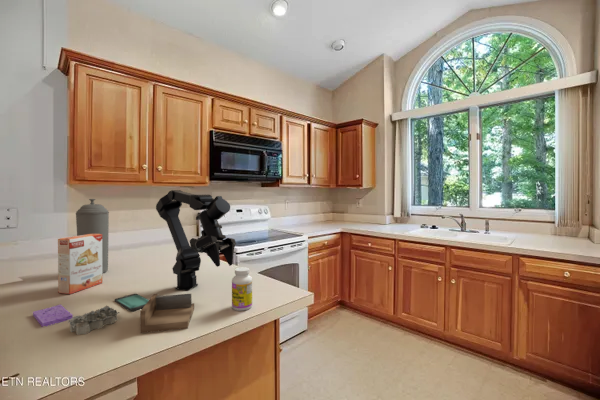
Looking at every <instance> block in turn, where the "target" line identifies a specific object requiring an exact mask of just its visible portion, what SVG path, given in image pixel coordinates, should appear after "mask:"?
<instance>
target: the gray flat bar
mask: <svg viewBox="0 0 600 400" xmlns="http://www.w3.org/2000/svg"><path fill="white" fill-rule="evenodd" d="M192 299H193V298H192V293H183V294H182V293H181V294H168V295H158V296H157V297H156V311H157V310H168V309H180V308H191V306H192V304H193V301H192Z"/></svg>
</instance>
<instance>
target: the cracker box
mask: <svg viewBox="0 0 600 400" xmlns="http://www.w3.org/2000/svg"><path fill="white" fill-rule="evenodd" d="M57 278H58V279H57V282H58V283H57V285H58V286H57V289H58V291H57V292H58V294H66V295H72V294H74V293H77V292H80V291H84V290H86V289H89V288H91V287H94V286H95V287H96V286H97V285H100V284H102V283H103V273H102V234H87V235H80V236H77V235H75V236H67V237H60V238H57Z"/></svg>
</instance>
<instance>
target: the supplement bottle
mask: <svg viewBox="0 0 600 400" xmlns="http://www.w3.org/2000/svg"><path fill="white" fill-rule="evenodd" d="M249 273H250V268H249V267H246V266H243V267H242V266H241V267H237V268H235V269H234V274H235V275H234V276H233V277H232V279H231V309H233V310H234V311H240V312H242V311H247V310H250V309H251V308H252V306H253V277H252V276H251V275H250V274H249Z"/></svg>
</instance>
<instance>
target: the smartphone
mask: <svg viewBox="0 0 600 400" xmlns="http://www.w3.org/2000/svg"><path fill="white" fill-rule="evenodd" d="M149 300H150V299H148V298H145V297H144V296H142V295H140V294H139V293H132V294H128V295H127V294H126V295H124V296H120V297H117V298H114V302H115V303H117V304H119V305H120V306H121V308H124V309H125V310H127V311H129V312H136V311H141V310H142V309H143V307H144V306H145V305H146V303H147V302H148V301H149ZM140 309H141V310H140Z"/></svg>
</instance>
